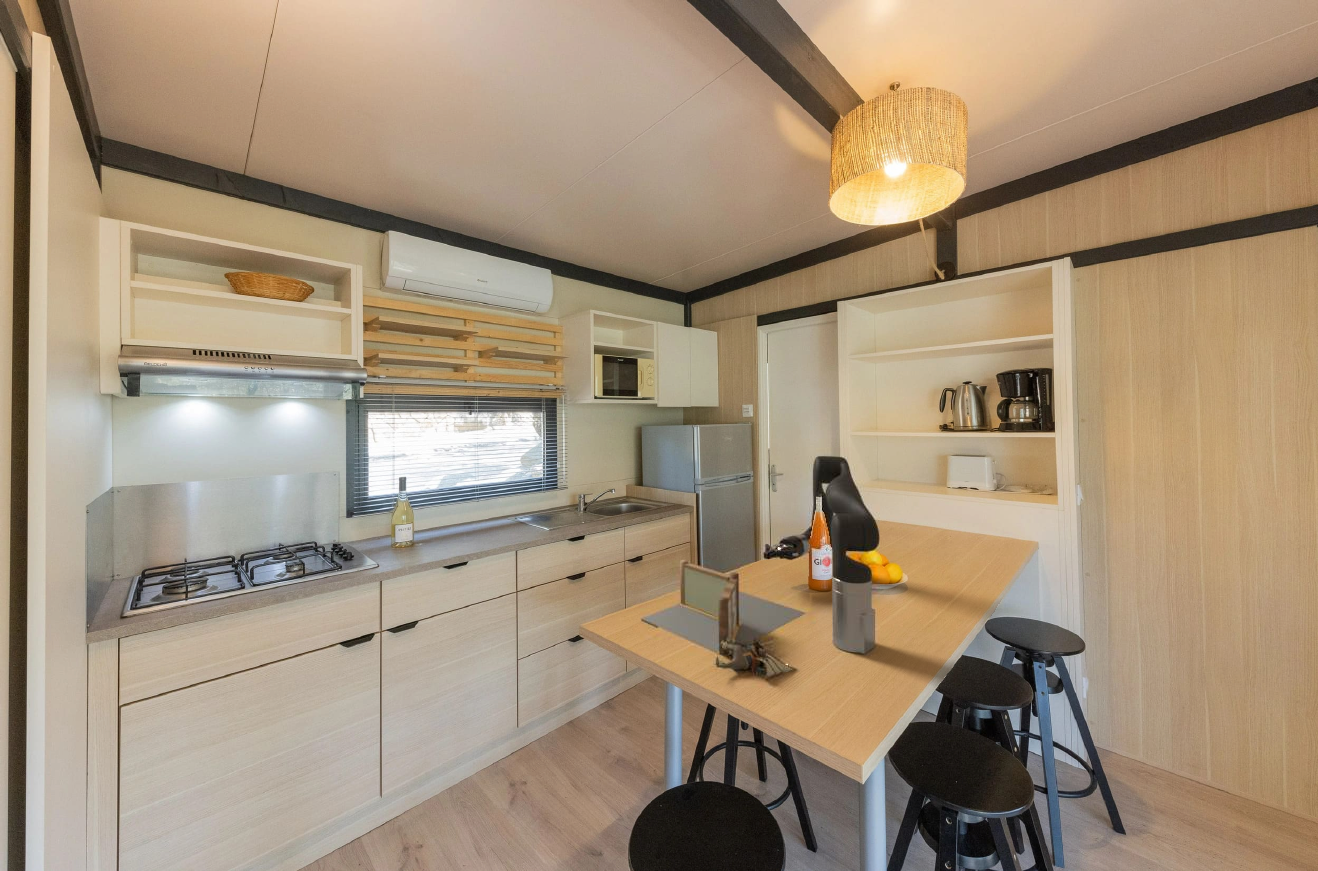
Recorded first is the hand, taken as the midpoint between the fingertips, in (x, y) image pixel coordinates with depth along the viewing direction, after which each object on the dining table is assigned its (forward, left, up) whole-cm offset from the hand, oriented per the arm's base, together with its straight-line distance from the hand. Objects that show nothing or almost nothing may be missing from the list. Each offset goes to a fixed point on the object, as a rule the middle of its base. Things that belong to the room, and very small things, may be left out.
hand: (765, 555), depth 154 cm
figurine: (-24, +38, -14) cm, 47 cm away
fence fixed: (-10, +31, -13) cm, 35 cm away
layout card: (0, +21, -14) cm, 25 cm away
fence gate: (+6, +23, -13) cm, 27 cm away
